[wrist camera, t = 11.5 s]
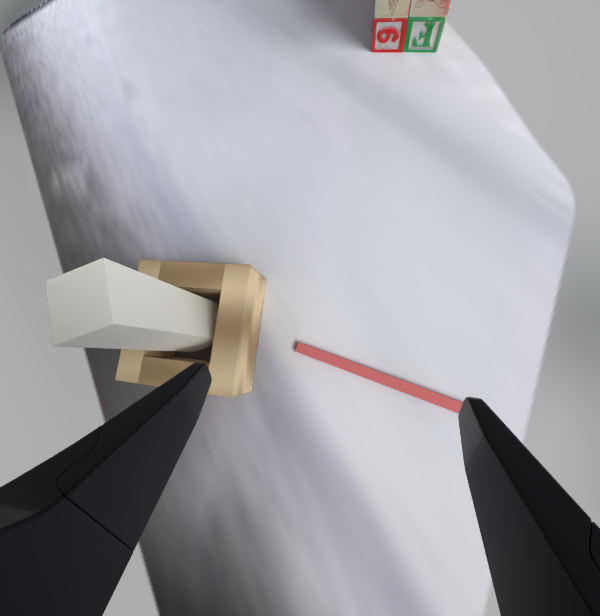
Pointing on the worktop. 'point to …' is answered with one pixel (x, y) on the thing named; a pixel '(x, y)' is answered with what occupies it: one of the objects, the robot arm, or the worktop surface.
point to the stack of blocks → (408, 25)
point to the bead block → (228, 332)
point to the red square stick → (380, 377)
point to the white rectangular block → (126, 311)
